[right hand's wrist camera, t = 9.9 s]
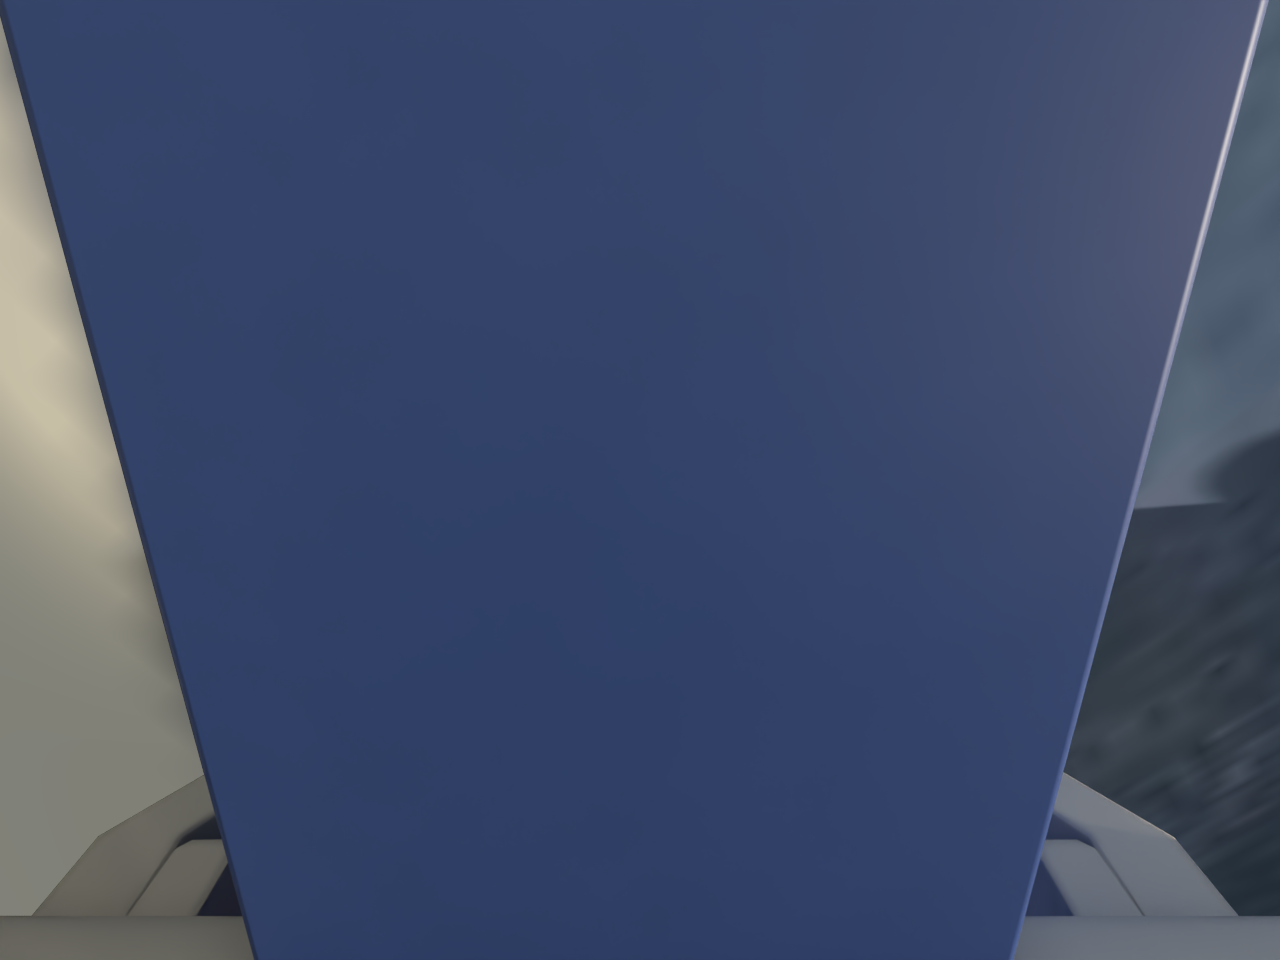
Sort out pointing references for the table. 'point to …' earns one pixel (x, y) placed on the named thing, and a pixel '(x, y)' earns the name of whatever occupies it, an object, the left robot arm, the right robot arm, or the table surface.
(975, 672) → the bar
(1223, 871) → the table surface
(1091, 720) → the table surface
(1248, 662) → the table surface
